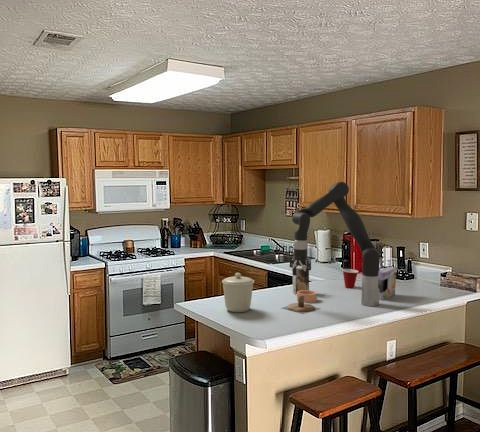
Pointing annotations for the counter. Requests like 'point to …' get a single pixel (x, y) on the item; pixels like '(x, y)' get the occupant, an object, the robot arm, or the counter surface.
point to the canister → (237, 293)
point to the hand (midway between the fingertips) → (300, 276)
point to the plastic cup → (350, 277)
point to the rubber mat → (301, 312)
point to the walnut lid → (301, 306)
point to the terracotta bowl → (308, 295)
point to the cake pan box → (387, 282)
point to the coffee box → (300, 281)
